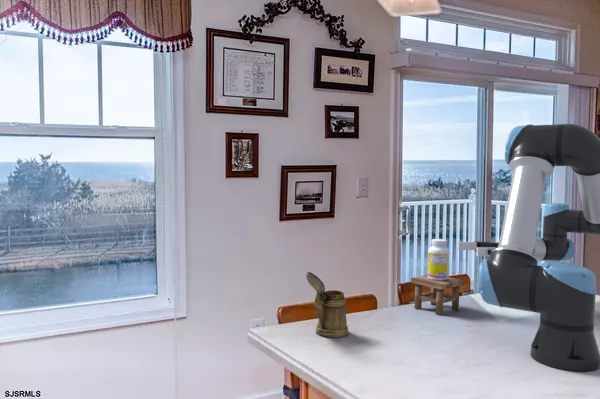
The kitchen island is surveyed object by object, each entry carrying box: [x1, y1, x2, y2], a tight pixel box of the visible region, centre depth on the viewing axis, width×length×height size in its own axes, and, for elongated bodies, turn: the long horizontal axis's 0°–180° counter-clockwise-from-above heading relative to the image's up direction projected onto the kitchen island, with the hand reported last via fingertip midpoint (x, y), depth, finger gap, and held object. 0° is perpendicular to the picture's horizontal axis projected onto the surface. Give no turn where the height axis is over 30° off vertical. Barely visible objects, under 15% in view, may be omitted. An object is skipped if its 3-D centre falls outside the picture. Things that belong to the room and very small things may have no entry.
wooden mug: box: [306, 271, 349, 339], centre depth 143 cm, size 9×14×18 cm, turn 128°
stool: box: [410, 274, 465, 316], centre depth 172 cm, size 12×12×10 cm
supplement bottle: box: [427, 238, 450, 281], centre depth 171 cm, size 7×7×13 cm
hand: (467, 248), depth 172 cm, fingers open, 13 cm apart
